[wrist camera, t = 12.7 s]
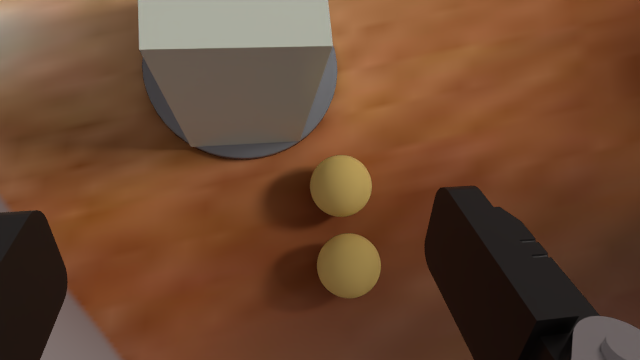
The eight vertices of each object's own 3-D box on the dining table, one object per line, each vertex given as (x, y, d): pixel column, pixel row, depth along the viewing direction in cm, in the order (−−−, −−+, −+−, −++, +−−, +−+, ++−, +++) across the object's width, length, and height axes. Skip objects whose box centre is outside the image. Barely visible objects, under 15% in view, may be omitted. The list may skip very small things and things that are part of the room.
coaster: (143, -17, 24) (140, -23, 23) (326, -16, 25) (328, -21, 25) (146, 165, 22) (144, 162, 21) (344, 154, 23) (346, 151, 23)
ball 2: (335, 223, 23) (346, 217, 20) (382, 258, 23) (401, 256, 20) (301, 273, 22) (308, 274, 19) (350, 308, 22) (365, 314, 19)
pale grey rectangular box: (184, -7, 23) (133, -204, 14) (286, -7, 24) (306, -192, 14) (190, 146, 22) (139, 49, 12) (299, 141, 23) (332, 45, 13)
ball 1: (328, 151, 23) (338, 135, 20) (374, 185, 23) (391, 173, 20) (295, 197, 23) (301, 187, 20) (342, 231, 23) (355, 226, 20)
